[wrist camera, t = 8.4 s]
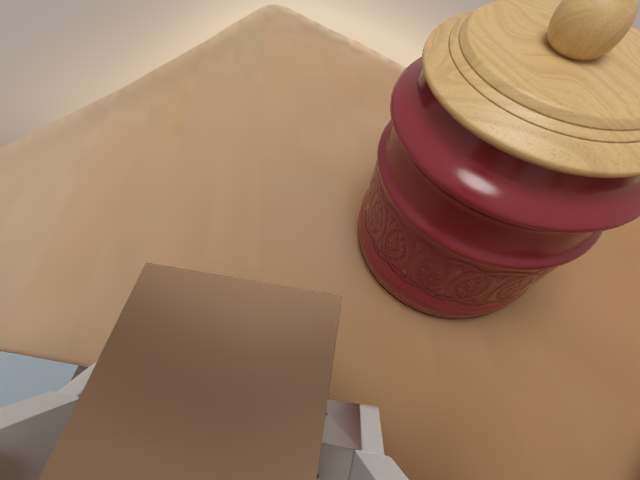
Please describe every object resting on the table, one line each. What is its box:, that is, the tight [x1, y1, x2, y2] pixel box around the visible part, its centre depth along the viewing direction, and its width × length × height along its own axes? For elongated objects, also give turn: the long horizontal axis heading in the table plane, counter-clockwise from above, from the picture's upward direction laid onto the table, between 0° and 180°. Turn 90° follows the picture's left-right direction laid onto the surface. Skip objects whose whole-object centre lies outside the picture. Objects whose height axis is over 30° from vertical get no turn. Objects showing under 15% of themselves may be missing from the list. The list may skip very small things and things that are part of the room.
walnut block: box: [39, 263, 342, 480], centre depth 10 cm, size 4×4×8 cm
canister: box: [358, 0, 640, 319], centre depth 19 cm, size 13×13×18 cm
